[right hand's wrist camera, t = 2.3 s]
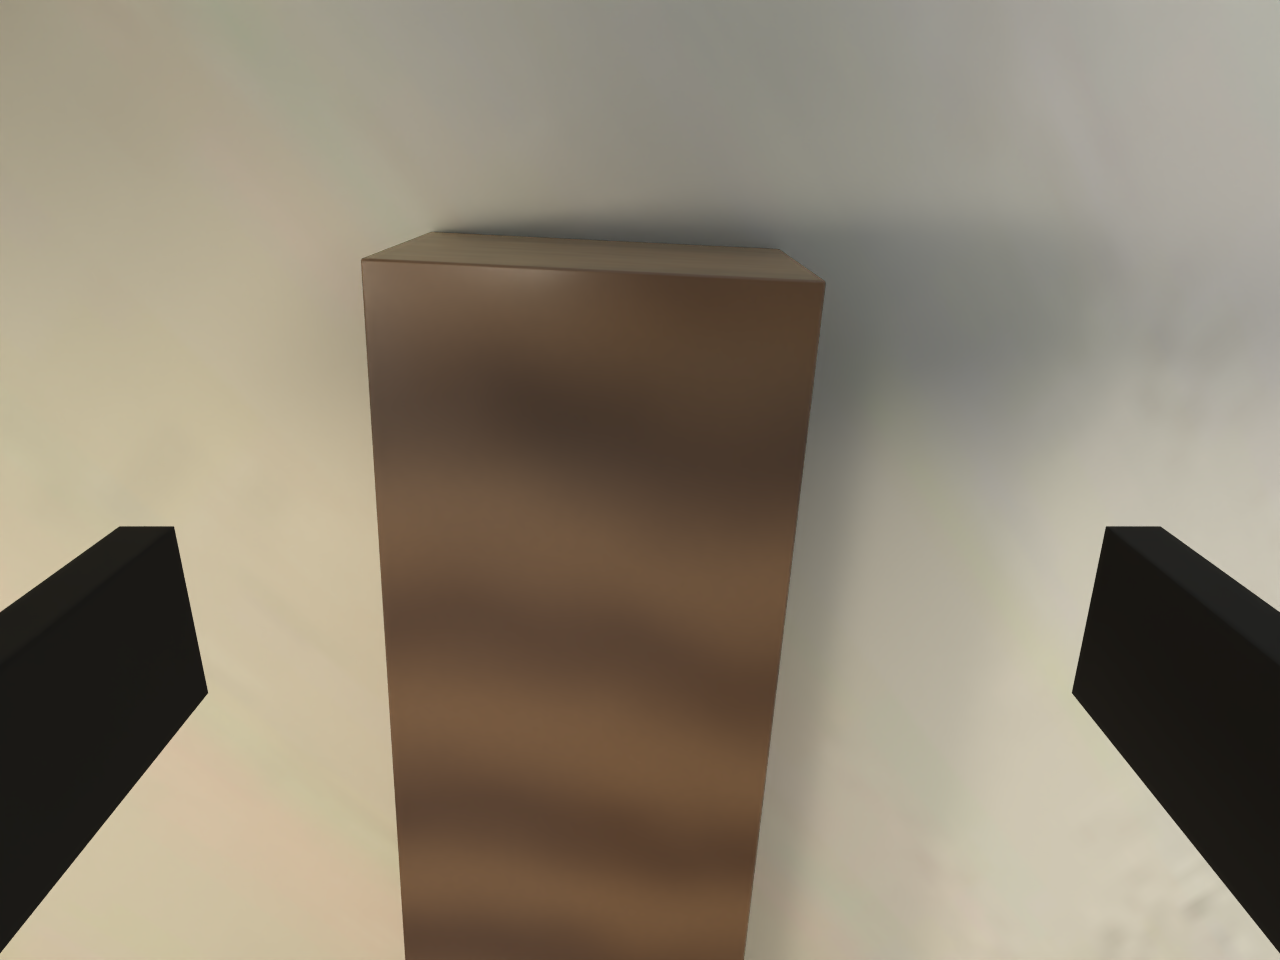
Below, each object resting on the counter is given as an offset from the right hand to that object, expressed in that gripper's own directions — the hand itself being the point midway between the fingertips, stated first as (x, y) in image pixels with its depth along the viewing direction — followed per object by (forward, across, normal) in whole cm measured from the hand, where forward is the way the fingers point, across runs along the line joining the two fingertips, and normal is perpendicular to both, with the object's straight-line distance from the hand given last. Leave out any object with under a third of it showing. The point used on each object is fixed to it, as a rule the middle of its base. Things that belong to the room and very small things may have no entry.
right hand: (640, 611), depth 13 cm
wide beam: (+15, -3, -34) cm, 37 cm away
